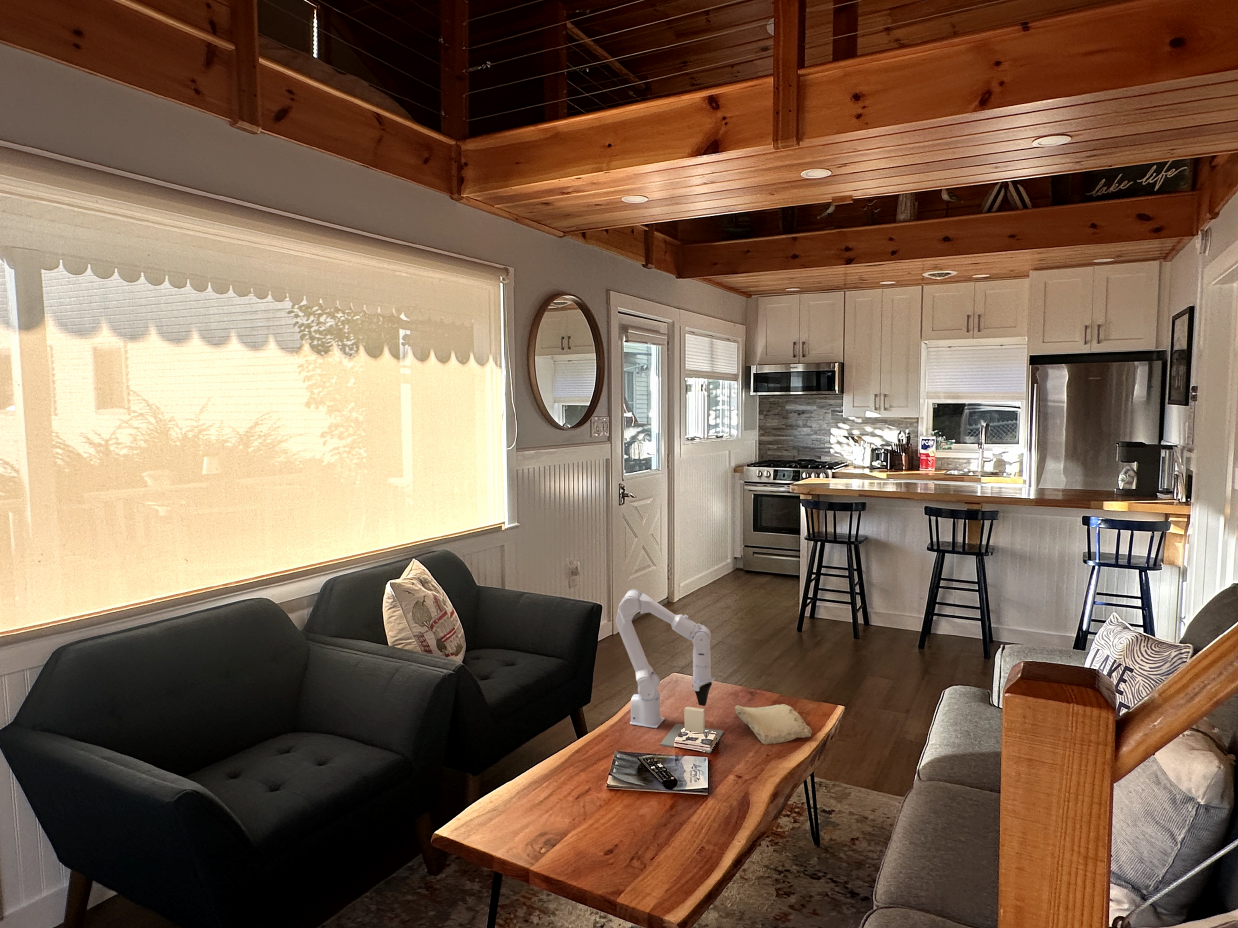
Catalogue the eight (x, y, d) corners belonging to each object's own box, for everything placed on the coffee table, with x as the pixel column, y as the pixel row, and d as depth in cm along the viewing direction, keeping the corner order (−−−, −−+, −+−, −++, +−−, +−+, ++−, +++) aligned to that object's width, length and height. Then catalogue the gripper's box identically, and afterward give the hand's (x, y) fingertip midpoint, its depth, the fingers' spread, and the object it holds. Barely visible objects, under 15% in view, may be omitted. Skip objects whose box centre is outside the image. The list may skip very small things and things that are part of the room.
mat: (660, 745, 242) (660, 743, 242) (676, 724, 257) (676, 723, 257) (710, 753, 236) (710, 751, 236) (723, 732, 251) (723, 730, 251)
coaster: (684, 733, 249) (684, 708, 249) (686, 730, 251) (686, 706, 251) (702, 735, 247) (702, 711, 246) (704, 733, 249) (704, 708, 248)
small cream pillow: (752, 749, 241) (814, 738, 243) (750, 725, 240) (812, 715, 243) (730, 720, 265) (787, 710, 267) (728, 698, 264) (785, 689, 267)
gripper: (707, 672, 247) (708, 714, 248) (719, 658, 260) (720, 698, 261) (686, 670, 249) (686, 711, 250) (699, 656, 263) (699, 695, 264)
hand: (702, 704), depth 256 cm, fingers closed
